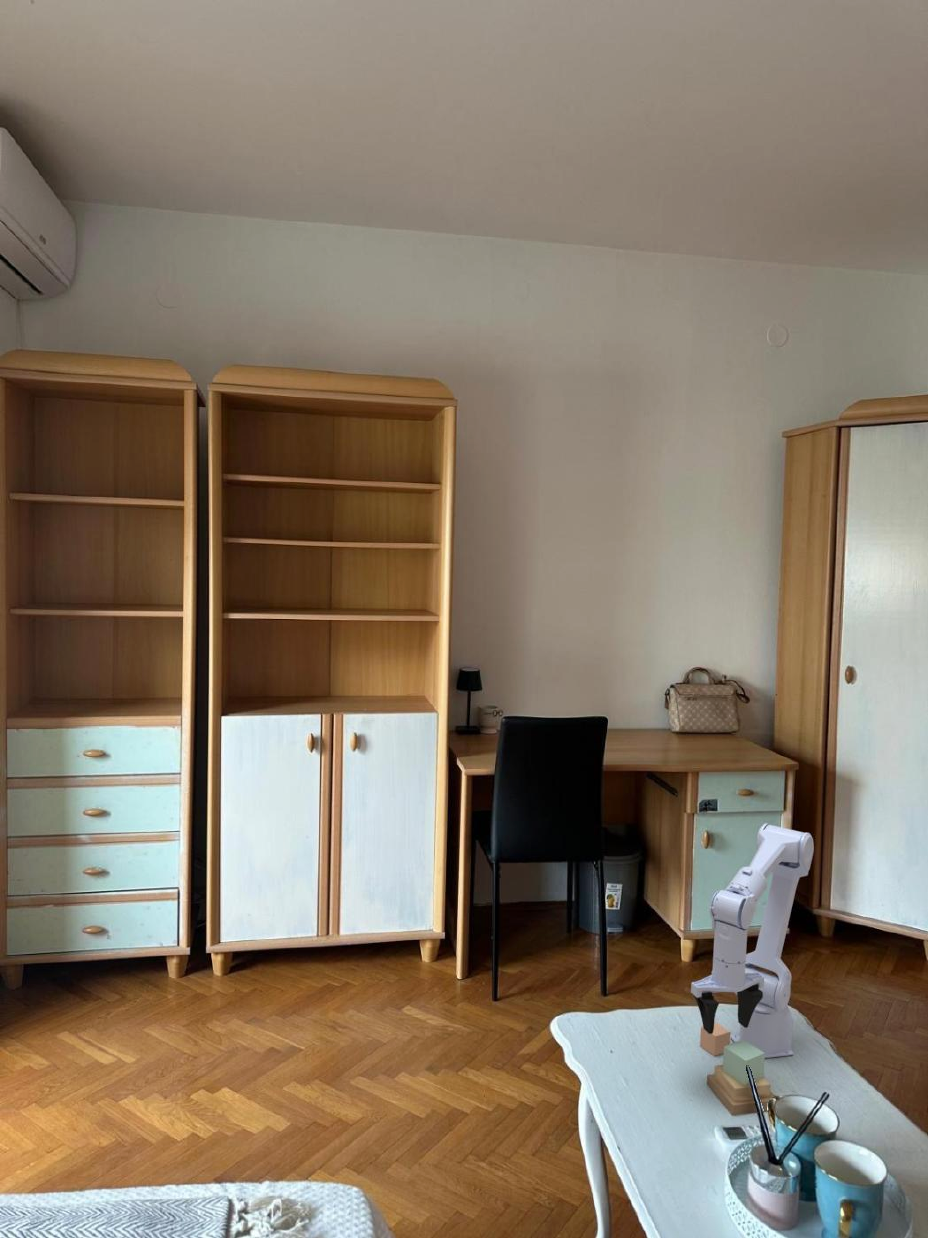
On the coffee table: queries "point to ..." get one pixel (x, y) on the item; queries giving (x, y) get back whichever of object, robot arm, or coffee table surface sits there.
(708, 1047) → the terracotta cube
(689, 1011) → the coffee table surface
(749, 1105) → the slab bottom
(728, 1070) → the sage cube
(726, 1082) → the slab top
